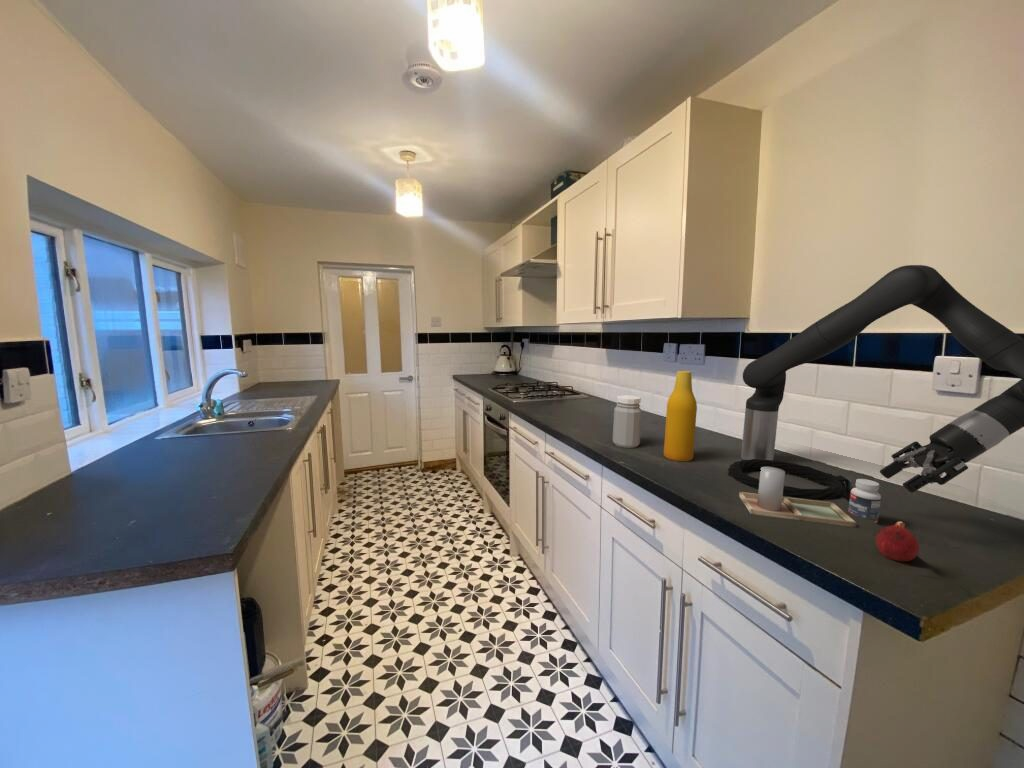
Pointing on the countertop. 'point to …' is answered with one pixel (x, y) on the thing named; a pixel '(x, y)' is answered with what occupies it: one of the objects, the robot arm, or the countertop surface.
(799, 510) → the divided tray
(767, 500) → the grey tube
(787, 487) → the cable lock
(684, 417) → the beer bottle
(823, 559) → the countertop surface
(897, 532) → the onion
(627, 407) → the jar
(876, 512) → the pill bottle
